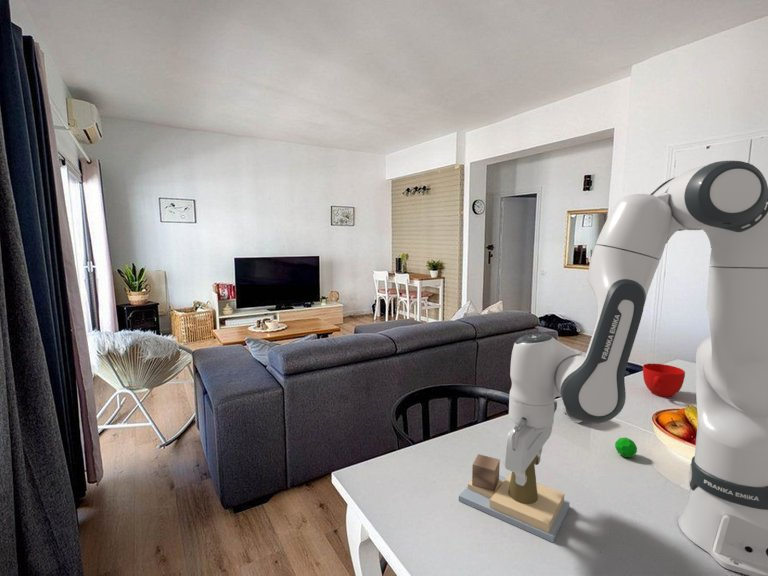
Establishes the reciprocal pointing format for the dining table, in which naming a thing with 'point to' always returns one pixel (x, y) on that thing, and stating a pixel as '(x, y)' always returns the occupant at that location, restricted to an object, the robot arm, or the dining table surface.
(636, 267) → the robot arm
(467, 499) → the base board
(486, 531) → the dining table surface
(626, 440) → the polyhedron
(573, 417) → the ceramic mug
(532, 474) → the olive pawn
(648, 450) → the dining table surface
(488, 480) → the walnut cube
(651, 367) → the red bowl
